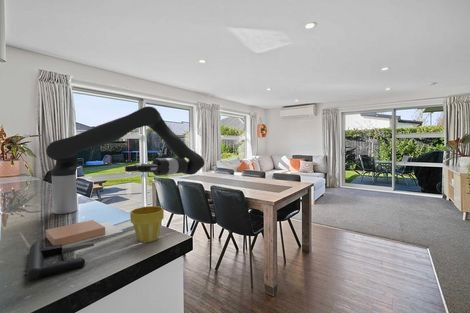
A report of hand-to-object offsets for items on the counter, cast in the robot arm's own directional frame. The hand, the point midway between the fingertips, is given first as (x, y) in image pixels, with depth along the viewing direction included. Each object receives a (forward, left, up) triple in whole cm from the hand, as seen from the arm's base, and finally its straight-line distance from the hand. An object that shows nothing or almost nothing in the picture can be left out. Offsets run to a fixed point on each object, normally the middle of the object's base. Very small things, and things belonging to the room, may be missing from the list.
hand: (126, 168), depth 92 cm
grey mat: (0, -14, -22) cm, 26 cm away
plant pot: (+19, -2, -22) cm, 29 cm away
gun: (+14, -24, -23) cm, 36 cm away
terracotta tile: (0, -10, -20) cm, 22 cm away
